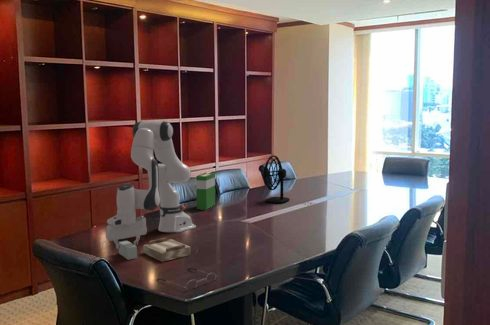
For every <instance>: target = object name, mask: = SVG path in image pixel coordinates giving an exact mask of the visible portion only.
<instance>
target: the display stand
mask: <svg viewBox="0 0 490 325" xmlns="http://www.w3.org/2000/svg"><path fill="white" fill-rule="evenodd" d="M142 248H143V254H145V255H147V256H149V257H151V258H153V259H155V260H158V261H160V262H161V263H162V262H167V261H170V260H176V259H179V258H183V257H187V256H191V255H192V253H191V252H192V251H191V249H192V248H191V246H189V245H187V244H184V243H182V242H179V241H176V239H175V240H174V239H172V238H169V239H168V237H162V238H157V239H153V240H149V241H148V244H144V245H142Z"/></svg>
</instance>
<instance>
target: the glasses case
mask: <svg viewBox="0 0 490 325" xmlns="http://www.w3.org/2000/svg"><path fill="white" fill-rule="evenodd" d="M118 244H120V248H118V254H119V255H120V256H122V257H123V258H125V259H126V260H127V261H129V260H133V259H137V258H138V247H137V245H134V243H132V242H130V241H128V240H122V241H118Z"/></svg>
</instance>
